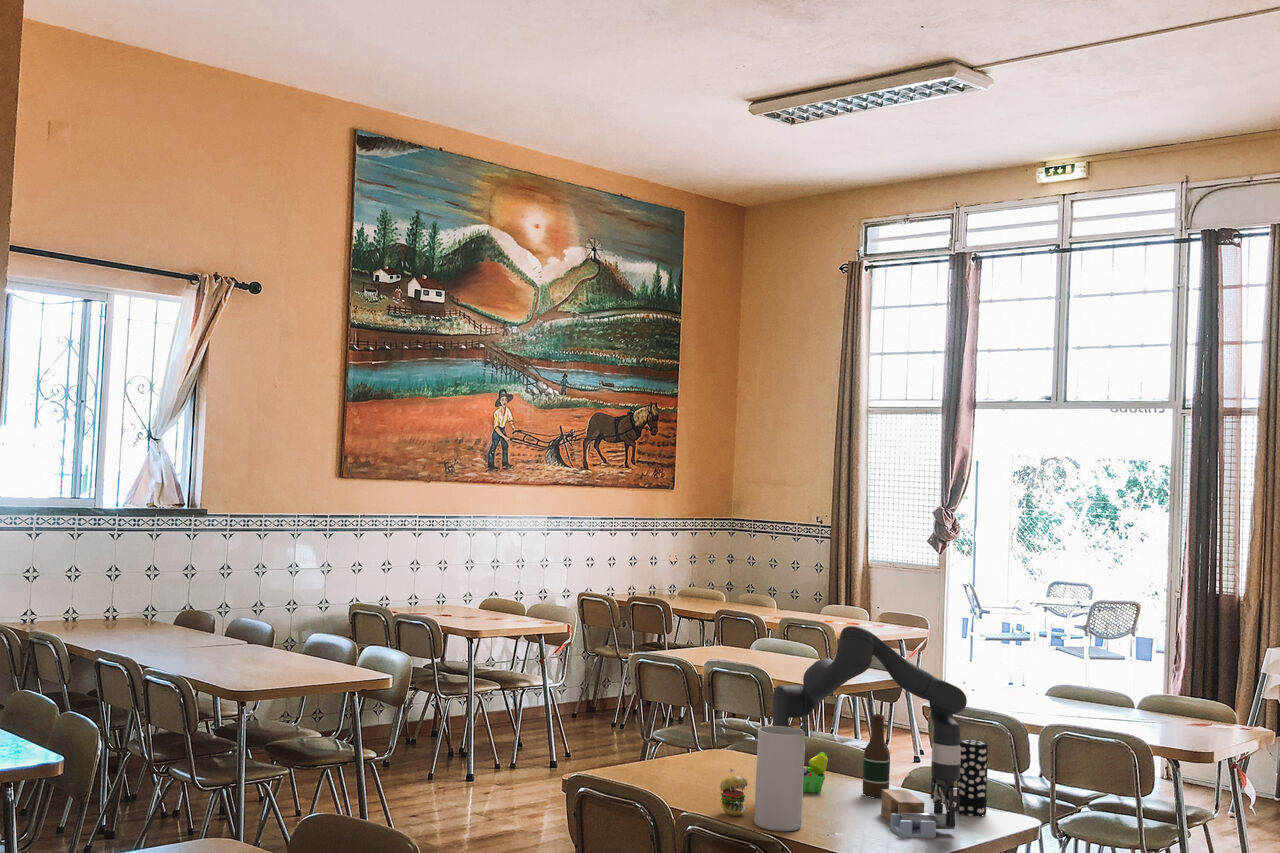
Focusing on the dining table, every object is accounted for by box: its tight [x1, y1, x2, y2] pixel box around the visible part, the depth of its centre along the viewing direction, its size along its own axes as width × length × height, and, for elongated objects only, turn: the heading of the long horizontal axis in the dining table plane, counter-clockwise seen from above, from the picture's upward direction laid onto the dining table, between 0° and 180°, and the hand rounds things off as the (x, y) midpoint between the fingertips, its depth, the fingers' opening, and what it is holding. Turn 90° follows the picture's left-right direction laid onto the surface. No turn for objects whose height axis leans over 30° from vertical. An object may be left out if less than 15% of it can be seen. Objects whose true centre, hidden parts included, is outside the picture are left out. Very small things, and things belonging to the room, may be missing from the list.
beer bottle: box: [862, 713, 891, 799], centre depth 349 cm, size 8×8×24 cm
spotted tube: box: [956, 738, 989, 817], centre depth 333 cm, size 8×8×20 cm
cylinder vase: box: [753, 725, 806, 832], centre depth 308 cm, size 12×12×25 cm
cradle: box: [890, 813, 937, 838], centre depth 307 cm, size 10×8×4 cm
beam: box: [880, 788, 925, 822], centre depth 319 cm, size 7×14×7 cm, turn 7°
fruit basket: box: [803, 751, 829, 794], centre depth 352 cm, size 11×9×11 cm
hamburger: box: [719, 768, 748, 817], centre depth 318 cm, size 8×7×12 cm
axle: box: [899, 812, 956, 830], centre depth 308 cm, size 14×4×4 cm, turn 97°
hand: (944, 822), depth 308 cm, fingers open, 8 cm apart
